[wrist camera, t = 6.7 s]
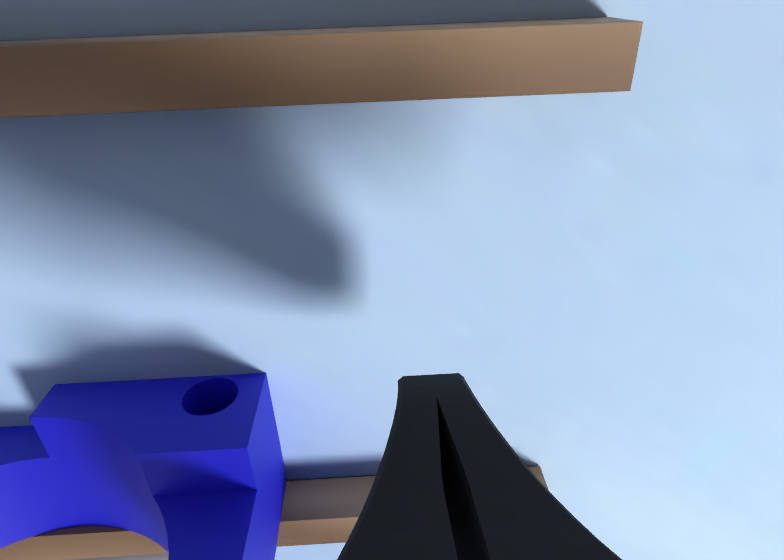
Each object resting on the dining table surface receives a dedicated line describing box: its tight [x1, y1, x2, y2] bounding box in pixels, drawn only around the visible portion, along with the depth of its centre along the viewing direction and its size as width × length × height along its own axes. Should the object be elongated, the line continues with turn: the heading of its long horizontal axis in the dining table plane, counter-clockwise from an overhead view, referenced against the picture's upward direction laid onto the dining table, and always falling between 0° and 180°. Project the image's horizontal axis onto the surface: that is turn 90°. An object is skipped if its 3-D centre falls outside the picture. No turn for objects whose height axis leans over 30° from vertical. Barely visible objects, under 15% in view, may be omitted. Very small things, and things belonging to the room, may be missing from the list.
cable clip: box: [0, 373, 287, 560], centre depth 14 cm, size 12×4×6 cm, turn 92°
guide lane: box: [0, 17, 643, 560], centre depth 13 cm, size 15×25×4 cm, turn 92°
